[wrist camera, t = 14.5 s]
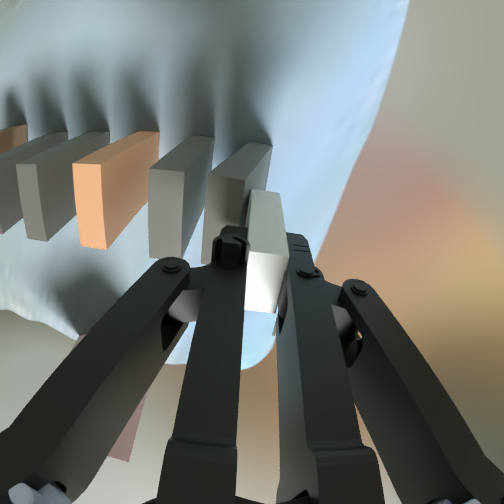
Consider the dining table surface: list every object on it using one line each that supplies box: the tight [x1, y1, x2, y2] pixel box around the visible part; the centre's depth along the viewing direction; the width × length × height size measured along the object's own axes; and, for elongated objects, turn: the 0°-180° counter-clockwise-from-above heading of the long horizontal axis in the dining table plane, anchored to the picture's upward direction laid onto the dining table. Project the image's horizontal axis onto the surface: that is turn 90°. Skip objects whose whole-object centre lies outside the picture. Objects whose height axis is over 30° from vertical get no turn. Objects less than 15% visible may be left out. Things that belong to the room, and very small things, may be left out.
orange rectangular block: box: [72, 131, 160, 250], centre depth 19 cm, size 2×5×10 cm, turn 172°
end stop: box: [0, 124, 28, 154], centre depth 20 cm, size 2×7×6 cm, turn 172°
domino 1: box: [0, 132, 68, 234], centre depth 19 cm, size 2×5×10 cm, turn 172°
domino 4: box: [201, 141, 273, 265], centre depth 19 cm, size 2×5×10 cm, turn 172°
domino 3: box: [148, 135, 215, 259], centre depth 19 cm, size 2×5×10 cm, turn 172°
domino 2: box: [16, 131, 110, 242], centre depth 19 cm, size 2×5×10 cm, turn 172°
